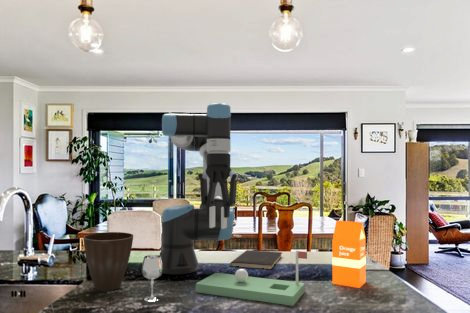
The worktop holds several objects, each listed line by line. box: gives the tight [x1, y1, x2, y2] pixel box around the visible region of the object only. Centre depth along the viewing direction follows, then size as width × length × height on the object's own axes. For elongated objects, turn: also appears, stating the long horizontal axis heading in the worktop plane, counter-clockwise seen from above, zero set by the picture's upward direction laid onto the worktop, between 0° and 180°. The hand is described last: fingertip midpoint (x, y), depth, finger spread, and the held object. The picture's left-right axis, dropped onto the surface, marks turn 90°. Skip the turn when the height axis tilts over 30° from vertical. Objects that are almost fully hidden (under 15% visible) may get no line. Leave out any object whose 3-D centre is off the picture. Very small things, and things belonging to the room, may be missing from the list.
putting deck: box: [195, 249, 308, 306], centre depth 123 cm, size 31×14×12 cm, turn 67°
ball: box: [234, 268, 249, 282], centre depth 124 cm, size 4×4×4 cm
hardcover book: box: [229, 249, 283, 270], centre depth 163 cm, size 16×23×2 cm
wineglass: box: [141, 254, 163, 303], centre depth 115 cm, size 6×6×12 cm
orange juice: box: [331, 220, 367, 289], centre depth 133 cm, size 8×9×20 cm
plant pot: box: [83, 231, 134, 292], centre depth 127 cm, size 15×15×16 cm
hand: (218, 227), depth 128 cm, fingers open, 3 cm apart
